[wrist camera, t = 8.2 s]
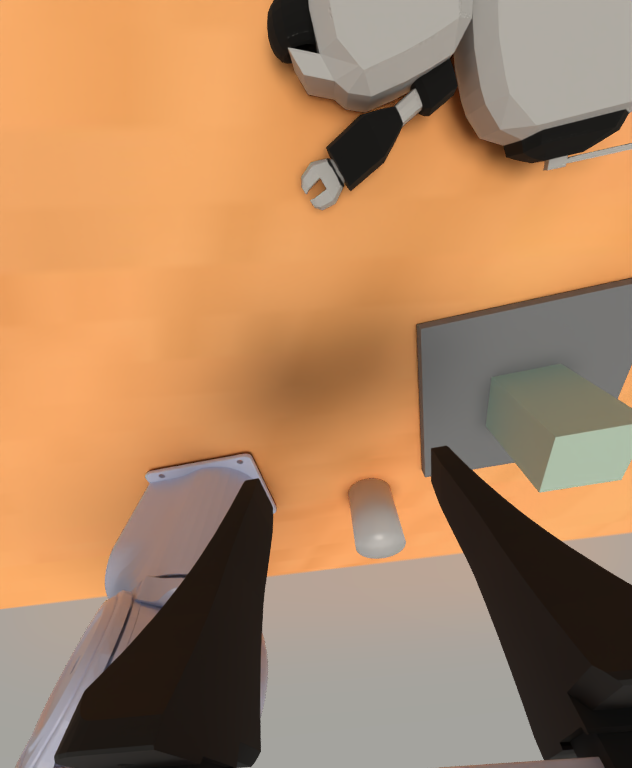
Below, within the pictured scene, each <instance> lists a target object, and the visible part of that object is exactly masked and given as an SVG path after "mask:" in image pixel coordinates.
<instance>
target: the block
mask: <svg viewBox="0 0 632 768" xmlns="http://www.w3.org/2000/svg"><path fill="white" fill-rule="evenodd" d="M486 427H487V428H488V430H489V431H490V432H491V433H492V434H493V436H494V437H495V438H496V439H497V441H498V442H499V443H500V444H501V446H502V447H503V448H504V449H505V451H506V452H507V453H508V454H509V456H510V457H511V458H512V459H513V461H514V462H515V463H516V464H517V466H518V467H519V468H520V469H521V471H522V472H523V473H524V474H525V476H526V477H527V478H528V479H529V480H530V482H531V483H532V484H533V485H534V487H535V488H536V489H537V490H538V492H546V491H552V490H559V489H565V488H571V487H578V486H584V485H591V484H597V483H603V482H610V481H616V480H621V479H622V477H623V475H624V473H625V471H626V469H627V468H628V466H629V464H630V462H631V460H632V408H631V407H629V406H628V405H626V404H624V403H623V402H621V401H620V400H618V399H616V398H615V397H613V396H612V395H610V394H608V393H607V392H605V391H604V390H602V389H600V388H599V387H597V386H596V385H594V384H592V383H591V382H589V381H588V380H586V379H585V378H583V377H581V376H580V375H578V374H577V373H575V372H573V371H572V370H570V369H569V368H567V367H565V366H564V365H562V364H556V365H551V366H546V367H541V368H536V369H531V370H526V371H521V372H515V373H510V374H505V375H500V376H495V377H491V386H490V394H489V403H488V411H487V420H486Z"/></svg>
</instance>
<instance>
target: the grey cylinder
mask: <svg viewBox="0 0 632 768" xmlns="http://www.w3.org/2000/svg"><path fill="white" fill-rule="evenodd" d="M348 496H349V503H350V510H351V517H352V524H353V532H354V539H355V546H356V550H357V552H358V553H359V554H360V555H362V556H364V557H368V558H386V557H390V556H393V555H395V554H397V553H399V552H400V551H401V550H402V549H403V548H404V547H405V544H406V541H405V538H404V534H403V531H402V527H401V524H400V521H399V517H398V514H397V510H396V507H395V503H394V500H393V496H392V493H391V490H390V487H389V485H388V484H387V483H386V482H385V481H383V480H380V479H375V478H369V479H364V480H360V481H358V482H356V483H355V484H353V485H352V486H351V488H350V489H349V492H348Z"/></svg>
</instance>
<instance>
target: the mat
mask: <svg viewBox="0 0 632 768" xmlns="http://www.w3.org/2000/svg"><path fill="white" fill-rule="evenodd" d="M417 347H418V374H419V401H420V429H421V456H422V471H423V473H424V476H425V477H429V476H431V448H435V447H441V446H448V447H449V448H450V449H451V450H452V451H453V452H454V453H455V454H456V455H457V456H458V457H459V458H460V459H461V460H462V461H463V462H464V463H465V464H466V465H467V466H468V467H469V468H471V469H478V468H484V467H490V466H496V465H502V464H508V463H515V462H514V461H513V459H512V458H511V457H510V456H509V454H508V453H507V452H506V451H505V449H504V448H503V447H502V446H501V444H500V443H499V442H498V441H497V439H496V438H495V437H494V436H493V434H492V433H491V432H490V431H489V430H488V428H487V427H486V420H487V411H488V403H489V394H490V386H491V377H495V376H500V375H505V374H510V373H515V372H521V371H526V370H531V369H536V368H541V367H546V366H551V365H556V364H562V365H564V366H565V367H567V368H569V369H570V370H572V371H573V372H575V373H577V374H578V375H580V376H581V377H583V378H585V379H586V380H588V381H589V382H591V383H592V384H594V385H596V386H597V387H599V388H600V389H602V390H604V391H605V392H607V393H608V394H610V395H612V396H613V397H615V398H616V399H618V396H619V394H620V392H621V389H622V387H623V384H624V382H625V380H626V377H627V375H628V372H629V370H630V368H631V365H632V278H630V279H625V280H620V281H616V282H611V283H606V284H602V285H597V286H592V287H588V288H583V289H579V290H574V291H569V292H565V293H560V294H555V295H551V296H546V297H541V298H537V299H532V300H527V301H523V302H518V303H514V304H509V305H504V306H500V307H495V308H490V309H486V310H481V311H476V312H472V313H467V314H463V315H458V316H453V317H449V318H444V319H439V320H435V321H430V322H425V323H421V324H417Z"/></svg>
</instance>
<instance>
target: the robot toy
mask: <svg viewBox="0 0 632 768" xmlns="http://www.w3.org/2000/svg"><path fill="white" fill-rule="evenodd" d="M267 30H268V38H269V42H270V46H271V48H272V50H273V52H274V54H275V56H276V57H277V58H278V59H279V60H280V61H281V62H284V63H292V64H293V67H294V71H295V73H296V75H297V76H298V78H299V80H300V82H301V83H302V85H303V87H304V88H305V90H306V92H307V93H308V95H313V96H318V97H323V98H328V99H333V100H335V101H336V102H337V103H339V104H340V105H341V106H342V107H343V108H344V109H346V110H352V111H359V112H368V111H370V110H372V109H374V108H377V107H379V106H381V105H384V104H386V103H388V102H391V101H393V100H395V99H397V98H399V97H401V96H403V95H405V94H406V93H408V92H409V93H408V94H407V95H406V96H405V97H404V98H403V99H401V100H400V101H399V102H398V103H397V104H396V105H395V106H394V107H390V108H385V109H380V110H376V111H373V112H369V113H366V114H362V115H360V116H359V117H358V118H357V119H356V120H355V121H354V122H353V123H351V124H350V125H349V126H348V127H347V128H346V129H345V130H344V131H343V132H342V133H341V134H340V135H339V136H338V137H337V138H336V139H335V140H334V141H332V142H331V143H330V144H329V145H328V146H327V147H326V149H327V151H328V154H329V156H330V158H331V159H328V158H327V159H323V160H319V161H315V162H311V163H310V164H309V166H308V167H307V169H306V170H305V172H304V173H303V175H302V176H301V186H302V188H303V190H304V192H305V193H306V194H307V193H308V192H309V190H310V189H311V188H312V187H313V186H314V185H315V184H316V183H317V182H318V181H319V180H320V179H321V180H322V182H323V184H324V185H325V187H326V190H325V191H323V192H322V193H321V194H320V195H318V196H317V197H316V198H314V199H312V200H310V201H311V203H312V204H313V206H314V207H315V208H317V209H320V210H324V209H326V208H328V207H330V206H332V205H334V204H336V202H337V199H338V197H339V195H340V193H341V191H342V189H343V187H344V183H345V184H346V186H347V188H348V189H349V190H350V191H351V190H352V189H354V188H355V187H356V186H357V185H358V184H360V183H361V182H362V181H363V180H364V179H365V178H367V177H368V176H369V175H370V174H371V173H372V172H374V171H375V170H376V169H377V168H378V167H380V166H381V165H382V164H383V163H384V162H385V160H386V158H387V156H388V154H389V152H390V150H391V149H392V147H393V145H394V143H395V141H396V139H397V137H398V135H399V133H400V131H401V128H402V127H403V126H404V125H405V124H406V123H407V122H408V121H409V120H410V119H412V118H413V117H414V116H415V115H416V114H417V113H419V114H421V115H423V116H430V115H431V114H432V113H433V112H434V111H436V110H437V109H438V108H439V107H440V106H441V105H443V104H444V103H445V102H446V101H447V100H448V99H450V98H451V97H452V96H453V95H454V93H455V91H456V89H457V86H458V88H459V93H460V99H461V103H462V106H463V109H464V112H465V116H466V118H467V119H468V121H469V123H470V124H471V126H472V128H473V129H474V131H475V132H476V134H477V136H478V137H479V138H480V139H483V140H486V141H490V142H493V143H496V144H500V145H503V146H504V150H505V154H506V157H507V158H511V159H515V160H519V161H523V162H528V163H535V162H541V161H545V164H544V169H543V170H551V169H556V168H560V167H565V166H566V163H571V162H575V161H580V160H585V159H589V158H594V157H598V156H603V155H607V154H612V153H616V152H621V151H625V150H630V149H632V143H629V144H625V145H621V146H616V147H612V148H607V149H603V150H599V151H594V152H590V153H585V154H581V155H576V156H572V157H568V155H571V154H576V153H580V152H584V151H585V150H587V149H589V148H590V147H592V146H593V145H595V144H597V143H598V142H600V141H602V140H603V139H605V138H607V137H608V136H610V135H612V134H613V133H615V132H617V131H618V130H619V129H620V128H621V126H622V124H623V123H624V121H625V119H626V117H627V116H628V114H629V113H630V112H632V0H274V1H273V3H272V5H271V6H270V9H269V12H268V20H267ZM453 53H454V64H455V72H456V76H455V72H454V69H453V66H452V63H451V60H450V57H451V56H452V55H453ZM456 78H457V80H456ZM457 83H458V85H457ZM567 157H568V158H567Z"/></svg>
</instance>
